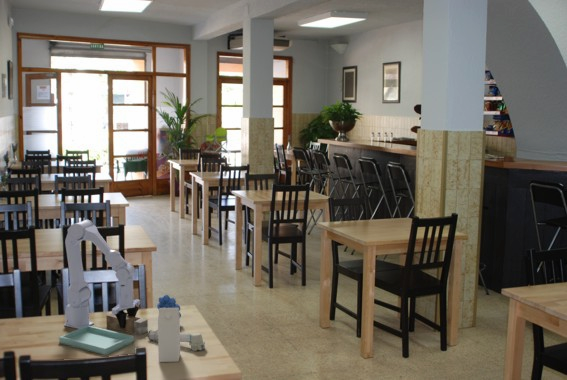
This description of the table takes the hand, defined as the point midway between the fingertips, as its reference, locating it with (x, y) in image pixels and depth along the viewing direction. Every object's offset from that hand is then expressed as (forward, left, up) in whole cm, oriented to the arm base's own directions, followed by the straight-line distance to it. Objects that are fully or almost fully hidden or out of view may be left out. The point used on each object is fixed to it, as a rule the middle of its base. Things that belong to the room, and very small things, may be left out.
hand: (126, 325), depth 260 cm
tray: (0, -17, -1) cm, 17 cm away
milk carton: (+34, -15, -2) cm, 37 cm away
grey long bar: (+28, -3, -2) cm, 28 cm away
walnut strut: (0, 0, -1) cm, 1 cm away
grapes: (+10, +14, -2) cm, 17 cm away
